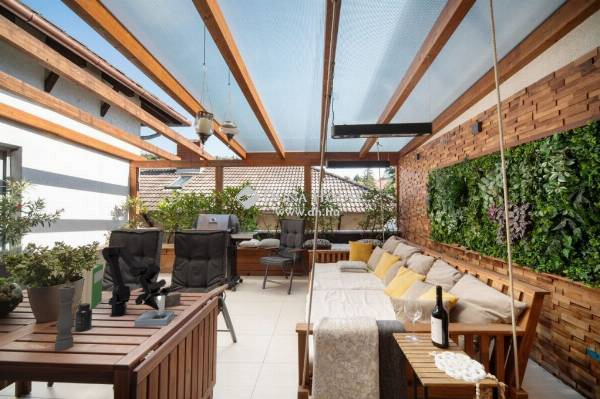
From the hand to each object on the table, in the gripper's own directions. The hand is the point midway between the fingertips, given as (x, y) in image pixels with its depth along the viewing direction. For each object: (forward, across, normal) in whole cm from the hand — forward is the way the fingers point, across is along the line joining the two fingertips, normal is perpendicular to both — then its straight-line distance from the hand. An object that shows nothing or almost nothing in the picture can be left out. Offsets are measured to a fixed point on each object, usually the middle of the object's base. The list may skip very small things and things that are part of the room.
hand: (161, 308), depth 155 cm
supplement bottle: (-14, -22, +25) cm, 36 cm away
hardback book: (-40, +4, +51) cm, 65 cm away
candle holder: (-4, -38, +15) cm, 41 cm away
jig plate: (+2, +1, +9) cm, 9 cm away
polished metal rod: (+4, 0, +6) cm, 7 cm away
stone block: (-8, +22, +20) cm, 31 cm away
